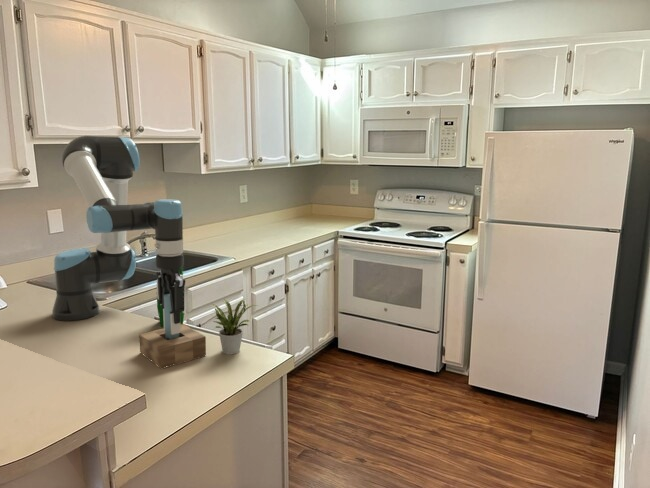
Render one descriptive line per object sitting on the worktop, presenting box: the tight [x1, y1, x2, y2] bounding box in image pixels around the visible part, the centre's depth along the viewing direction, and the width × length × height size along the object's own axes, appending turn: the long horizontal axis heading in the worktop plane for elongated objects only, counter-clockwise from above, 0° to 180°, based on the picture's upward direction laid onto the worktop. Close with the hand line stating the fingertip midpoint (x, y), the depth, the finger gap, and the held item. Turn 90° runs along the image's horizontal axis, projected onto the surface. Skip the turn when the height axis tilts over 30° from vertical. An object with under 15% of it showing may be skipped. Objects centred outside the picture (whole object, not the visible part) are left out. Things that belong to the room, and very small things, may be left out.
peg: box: [164, 293, 179, 340], centre depth 144 cm, size 4×4×16 cm
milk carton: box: [156, 267, 185, 328], centre depth 170 cm, size 9×9×20 cm
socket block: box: [138, 323, 207, 369], centre depth 146 cm, size 14×14×6 cm
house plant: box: [212, 298, 259, 355], centre depth 149 cm, size 14×14×16 cm
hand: (172, 330), depth 145 cm, fingers closed on peg, 4 cm apart
